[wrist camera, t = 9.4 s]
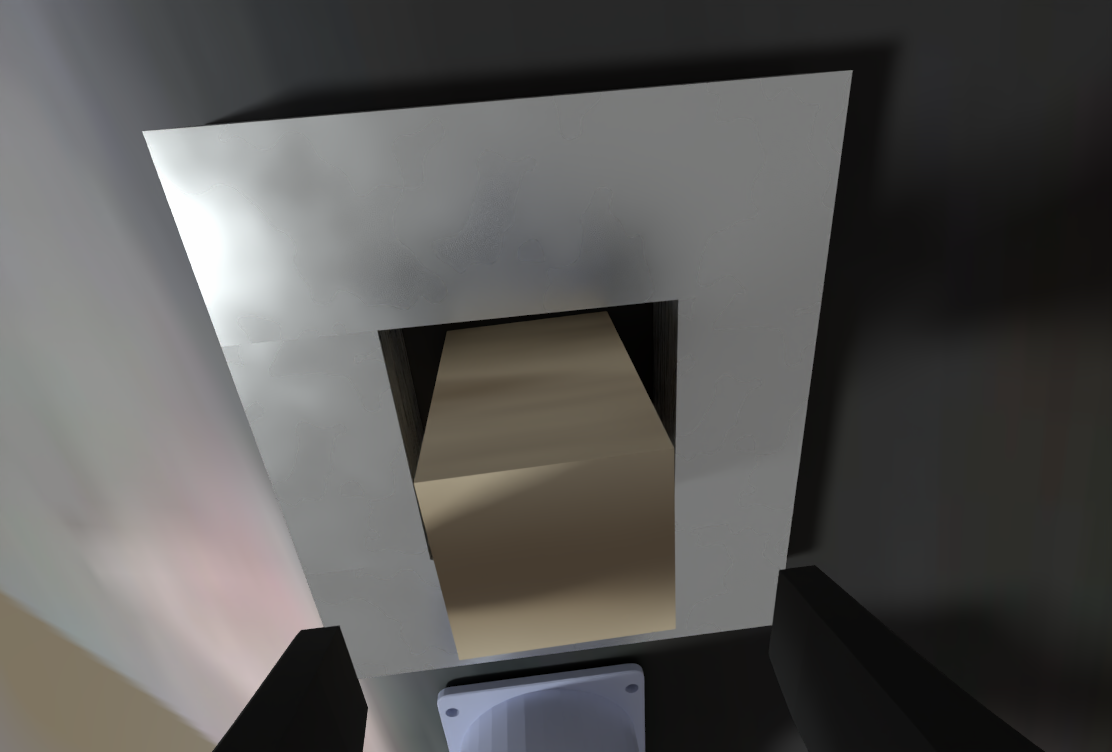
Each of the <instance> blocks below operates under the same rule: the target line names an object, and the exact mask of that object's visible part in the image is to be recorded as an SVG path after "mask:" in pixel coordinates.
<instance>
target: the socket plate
mask: <svg viewBox="0 0 1112 752" xmlns="http://www.w3.org/2000/svg"><path fill="white" fill-rule="evenodd" d="M852 71H853V70H847V71H832V72H816V73H800V74H787V75H776V76H764V77H752V78H741V79H729V80H718V81H706V82H694V83H683V84H671V85H660V86H648V87H636V88H625V89H613V90H602V91H590V92H578V93H567V94H555V95H544V96H532V97H520V98H509V99H497V100H486V101H474V102H462V103H451V104H439V105H428V106H416V107H404V108H393V109H381V110H370V111H358V112H347V113H335V114H323V115H312V116H300V117H289V118H277V119H265V120H254V121H242V122H231V123H219V124H207V125H197V126H188V127H179V128H170V129H161V130H152V131H142V132H143V134H144V137H145V140H146V142H147V145H148V148H149V151H150V153H151V156H152V159H153V162H154V164H155V167H156V170H157V173H158V175H159V178H160V181H161V183H162V186H163V189H164V192H165V194H166V197H167V200H168V203H169V205H170V208H171V211H172V213H173V216H174V219H175V222H176V224H177V227H178V230H179V233H180V235H181V238H182V241H183V244H184V246H185V249H186V252H187V254H188V257H189V260H190V263H191V265H192V268H193V271H194V274H195V276H196V279H197V282H198V284H199V287H200V290H201V293H202V295H203V298H204V301H205V304H206V306H207V309H208V312H209V315H210V317H211V320H212V323H213V325H214V328H215V331H216V334H217V336H218V339H219V342H220V345H221V347H222V350H223V353H224V355H225V358H226V361H227V364H228V366H229V369H230V372H231V375H232V377H233V380H234V383H235V386H236V388H237V391H238V394H239V396H240V399H241V402H242V405H243V407H244V410H245V413H246V416H247V418H248V421H249V424H250V427H251V429H252V432H253V435H254V437H255V440H256V443H257V446H258V448H259V451H260V454H261V457H262V459H263V462H264V465H265V467H266V470H267V473H268V476H269V478H270V481H271V484H272V487H273V489H274V492H275V495H276V498H277V500H278V503H279V506H280V508H281V511H282V514H283V517H284V519H285V522H286V525H287V528H288V530H289V533H290V536H291V538H292V541H293V544H294V547H295V549H296V552H297V555H298V558H299V560H300V563H301V566H302V569H303V571H304V574H305V577H306V579H307V582H308V585H309V588H310V590H311V593H312V596H313V599H314V601H315V604H316V607H317V609H318V612H319V615H320V618H321V620H322V623H323V626H324V627H331V626H338V625H340V628H341V631H342V634H343V637H344V640H345V643H346V646H347V649H348V651H349V654H350V657H351V660H352V663H353V666H354V669H355V672H356V675H357V678H358V679H362V678H370V677H377V676H385V675H393V674H401V673H408V672H416V671H424V670H431V669H439V668H447V667H454V666H462V665H470V664H477V663H485V662H493V661H500V660H508V659H516V658H523V657H531V656H539V655H546V654H554V653H562V652H569V651H577V650H585V649H592V648H600V647H608V646H615V645H623V644H631V643H638V642H646V641H654V640H661V639H669V638H677V637H684V636H692V635H700V634H707V633H715V632H723V631H730V630H738V629H746V628H753V627H761V626H769V625H772V622H773V614H774V606H775V598H776V590H777V583H778V575H779V570H782V569H785V567H786V559H787V552H788V545H789V537H790V530H791V522H792V515H793V508H794V500H795V493H796V485H797V478H798V471H799V463H800V456H801V448H802V441H803V434H804V426H805V419H806V411H807V404H808V397H809V389H810V382H811V375H812V367H813V360H814V352H815V345H816V338H817V330H818V323H819V315H820V308H821V301H822V293H823V286H824V278H825V271H826V264H827V256H828V249H829V241H830V234H831V227H832V219H833V212H834V205H835V197H836V190H837V182H838V175H839V168H840V160H841V153H842V145H843V138H844V131H845V123H846V116H847V108H848V101H849V94H850V86H851V79H852ZM649 302H653V406H654V408H655V410H656V412H657V414H658V416H659V418H660V420H661V422H662V424H663V426H664V428H665V430H666V432H667V435H668V437H669V439H670V441H671V443H672V445H673V447H674V478H675V604H676V629H672V630H665V631H658V632H652V633H645V634H638V635H631V636H624V637H617V638H610V639H603V640H596V641H589V642H582V643H576V644H569V645H562V646H555V647H548V648H541V649H534V650H527V651H520V652H513V653H506V654H500V655H493V656H486V657H479V658H472V659H465V660H459V657H458V653H457V649H456V645H455V641H454V637H453V634H452V630H451V626H450V622H449V618H448V614H447V610H446V606H445V603H444V599H443V595H442V591H441V587H440V583H439V579H438V576H437V572H436V568H435V564H434V560H433V556H432V552H431V548H430V545H429V541H428V537H427V533H426V529H425V525H424V521H423V517H422V514H421V510H420V506H419V502H418V498H417V494H416V490H415V487H414V479H415V474H416V470H417V465H418V461H419V456H420V452H421V447H422V442H423V438H424V432H423V427H422V422H421V418H420V413H419V408H418V403H417V399H416V394H415V389H414V384H413V380H412V375H411V370H410V365H409V361H408V356H407V351H406V346H405V342H404V337H403V332H402V328H407V327H417V326H427V325H436V324H446V323H456V322H465V321H475V320H485V319H494V318H504V317H514V316H523V315H533V314H543V313H552V312H562V311H572V310H581V309H591V308H601V307H610V306H620V305H630V304H639V303H649Z"/></svg>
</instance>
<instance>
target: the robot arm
mask: <svg viewBox="0 0 1112 752" xmlns="http://www.w3.org/2000/svg"><path fill="white" fill-rule="evenodd" d="M768 655H769V657H770V660H771V663H772V666H773V668H774V671H775V674H776V677H777V679H778V682H779V685H780V688H781V690H782V693H783V696H784V698H785V701H786V703H787V706H788V708H789V711H790V714H791V716H792V719H793V721H794V723H795V725H796V727H797V729H798V731H799V733H800V735H801V737H802V739H803V741H804V743H805V745H806V747H807V749H808V751H809V752H1044V751H1043V750H1042V749H1040V748H1039V747H1038V746H1036V745H1035V744H1033V743H1032V742H1031V741H1029V740H1028V739H1027V738H1025V737H1024V736H1023V735H1021V734H1020V733H1019V732H1017V731H1016V730H1015V729H1013V728H1012V727H1011V726H1009V725H1008V724H1007V723H1005V722H1004V721H1003V720H1002V719H1000V718H999V717H998V716H996V715H995V714H994V713H992V712H991V711H990V710H988V709H987V708H986V707H984V706H983V705H982V704H981V703H979V702H978V701H977V700H975V699H974V698H973V697H972V696H970V695H969V694H968V693H967V692H965V691H964V690H963V689H961V688H960V687H959V686H958V685H956V684H955V683H954V682H953V681H952V680H950V679H949V678H948V677H947V676H945V675H944V674H943V673H942V672H940V671H939V670H938V669H937V668H936V667H934V666H933V665H932V664H931V663H929V662H928V661H927V660H926V659H924V658H923V657H922V656H921V655H920V654H918V653H917V652H916V651H915V650H913V649H912V648H911V647H910V646H909V645H908V644H906V643H905V642H904V641H903V640H902V639H900V638H899V637H898V636H897V635H896V634H894V633H893V632H892V631H891V630H890V629H889V628H887V627H886V626H885V625H884V624H883V623H882V622H880V621H879V620H878V619H877V618H876V617H875V616H873V615H872V614H871V613H870V612H869V611H868V610H866V609H865V608H864V607H863V606H862V605H861V604H859V603H858V602H857V601H856V600H855V599H854V598H853V597H851V596H850V595H849V594H848V593H847V592H846V591H844V590H843V589H842V588H841V587H840V586H839V585H837V584H836V583H835V582H834V581H833V580H832V579H831V578H829V577H828V576H827V575H826V574H825V573H823V572H822V571H821V570H820V569H819V568H818V567H816V566H815V565H814V566H806V567H798V568H790V569H782V570H779V575H778V583H777V590H776V598H775V606H774V614H773V622H772V630H771V638H770V646H769V654H768ZM437 706H438V709H439V713H440V717H441V721H442V725H443V728H444V732H445V736H446V740H447V744H448V747H449V751H450V752H645V697H644V674H643V670H642V667H641V666H639V665H638V664H635V663H627V664H620V665H612V666H605V667H597V668H590V669H582V670H574V671H567V672H559V673H552V674H544V675H536V676H529V677H521V678H514V679H506V680H499V681H491V682H483V683H476V684H468V685H461V686H453V687H447V688H444V689H443V690H441V691H440V692H439V694H438V701H437ZM367 711H368V706H367V704H366V701H365V698H364V695H363V692H362V689H361V686H360V683H359V680H358V678H357V675H356V672H355V669H354V666H353V663H352V660H351V657H350V654H349V651H348V649H347V646H346V643H345V640H344V637H343V634H342V631H341V628H340V625H338V626H331V627H323V628H315V629H307V630H301V631H300V632H299V633H298V634H297V635H296V637H295V638H294V639H293V641H292V642H291V644H290V645H289V646H288V648H287V649H286V651H285V652H284V653H283V655H282V656H281V658H280V659H279V660H278V662H277V663H276V665H275V666H274V667H273V669H272V670H271V672H270V673H269V675H268V676H267V677H266V679H265V680H264V682H263V683H262V684H261V686H260V687H259V689H258V690H257V691H256V693H255V694H254V696H253V697H252V698H251V700H250V701H249V702H248V704H247V705H246V707H245V708H244V709H243V711H242V712H241V714H240V715H239V716H238V718H237V719H236V720H235V722H234V723H233V725H232V726H231V727H230V729H229V730H228V731H227V733H226V734H225V735H224V737H223V738H222V739H221V741H220V742H219V743H218V745H217V746H216V747H215V749H214V750H213V751H212V752H363V745H364V737H365V728H366V720H367Z"/></svg>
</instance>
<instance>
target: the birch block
mask: <svg viewBox="0 0 1112 752" xmlns="http://www.w3.org/2000/svg"><path fill="white" fill-rule="evenodd" d="M414 487H415V490H416V494H417V498H418V502H419V506H420V510H421V514H422V517H423V521H424V525H425V529H426V533H427V537H428V541H429V545H430V548H431V552H432V556H433V560H434V564H435V568H436V572H437V576H438V579H439V583H440V587H441V591H442V595H443V599H444V603H445V606H446V610H447V614H448V618H449V622H450V626H451V630H452V634H453V637H454V641H455V645H456V649H457V653H458V657H459V660H465V659H472V658H479V657H486V656H493V655H500V654H506V653H513V652H520V651H527V650H534V649H541V648H548V647H555V646H562V645H569V644H576V643H582V642H589V641H596V640H603V639H610V638H617V637H624V636H631V635H638V634H645V633H652V632H658V631H665V630H672V629H676V604H675V478H674V447H673V445H672V443H671V441H670V439H669V437H668V435H667V432H666V430H665V428H664V426H663V424H662V422H661V420H660V418H659V416H658V414H657V412H656V410H655V408H654V406H653V404H652V402H651V400H650V398H649V396H648V394H647V392H646V390H645V388H644V386H643V384H642V382H641V380H640V378H639V376H638V374H637V371H636V369H635V367H634V365H633V363H632V361H631V359H630V357H629V355H628V353H627V351H626V349H625V347H624V345H623V343H622V341H621V339H620V337H619V335H618V333H617V331H616V329H615V327H614V325H613V323H612V321H611V319H610V317H609V315H608V313H607V311H603V312H595V313H587V314H579V315H571V316H563V317H555V318H547V319H539V320H531V321H523V322H515V323H507V324H499V325H491V326H483V327H475V328H467V329H459V330H451V331H447V333H446V337H445V342H444V346H443V351H442V356H441V360H440V365H439V369H438V374H437V378H436V383H435V388H434V392H433V397H432V401H431V406H430V410H429V415H428V420H427V424H426V429H425V433H424V438H423V442H422V447H421V452H420V456H419V461H418V465H417V470H416V474H415V479H414Z"/></svg>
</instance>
